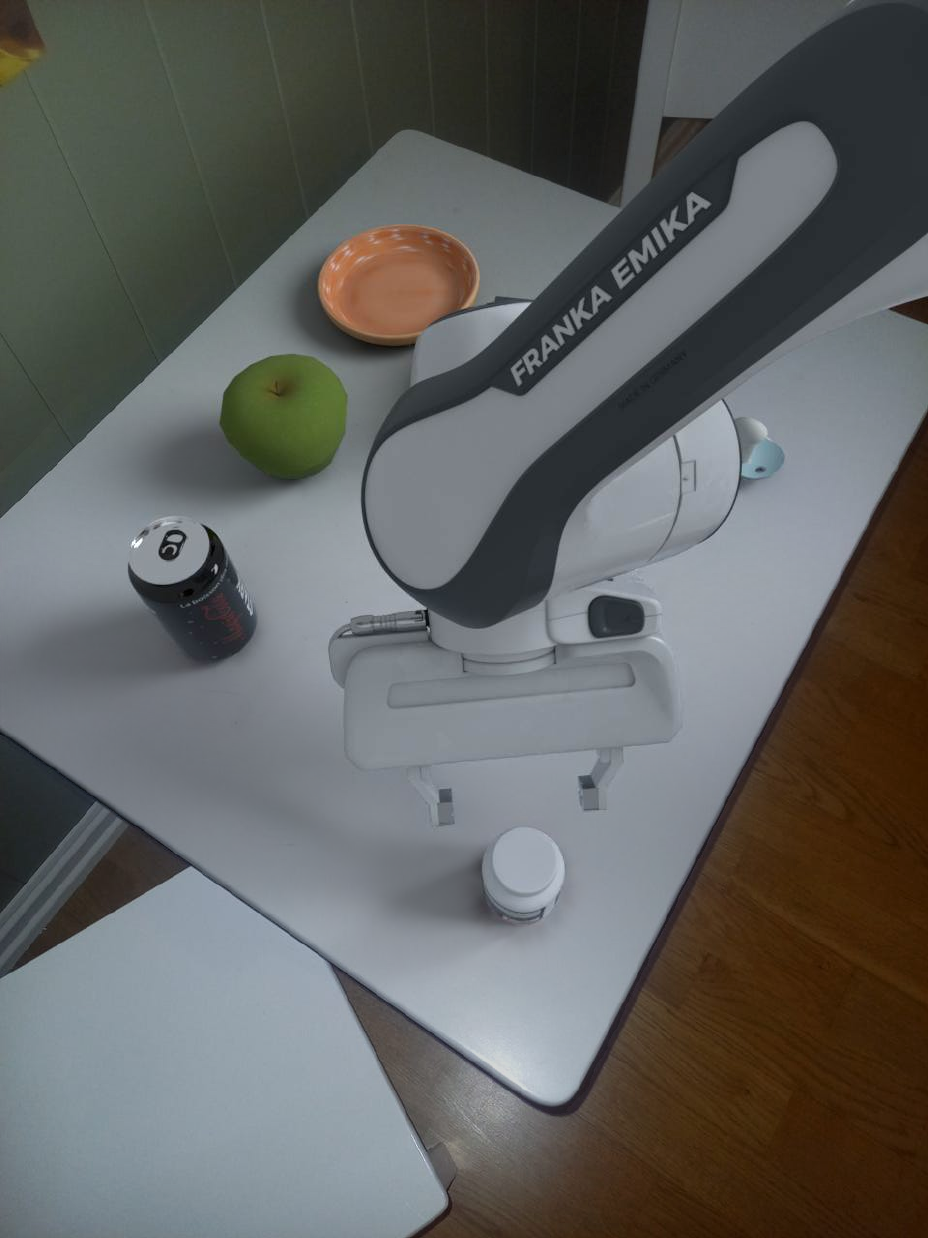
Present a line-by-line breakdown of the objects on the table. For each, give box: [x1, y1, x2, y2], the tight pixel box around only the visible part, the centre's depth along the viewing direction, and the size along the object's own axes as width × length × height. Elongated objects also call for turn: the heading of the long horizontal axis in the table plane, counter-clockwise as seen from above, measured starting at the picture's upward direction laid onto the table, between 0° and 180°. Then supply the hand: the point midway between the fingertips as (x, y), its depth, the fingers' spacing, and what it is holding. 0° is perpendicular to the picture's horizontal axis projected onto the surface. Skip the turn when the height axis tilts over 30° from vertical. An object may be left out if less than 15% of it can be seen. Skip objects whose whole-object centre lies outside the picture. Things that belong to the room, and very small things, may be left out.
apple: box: [219, 353, 349, 480], centre depth 72 cm, size 11×10×10 cm
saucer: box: [317, 223, 480, 347], centre depth 84 cm, size 16×16×3 cm
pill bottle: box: [481, 826, 566, 926], centre depth 55 cm, size 5×5×9 cm
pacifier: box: [734, 416, 786, 481], centre depth 73 cm, size 7×6×6 cm
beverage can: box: [127, 515, 258, 663], centre depth 63 cm, size 7×7×12 cm
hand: (518, 814), depth 53 cm, fingers open, 8 cm apart
